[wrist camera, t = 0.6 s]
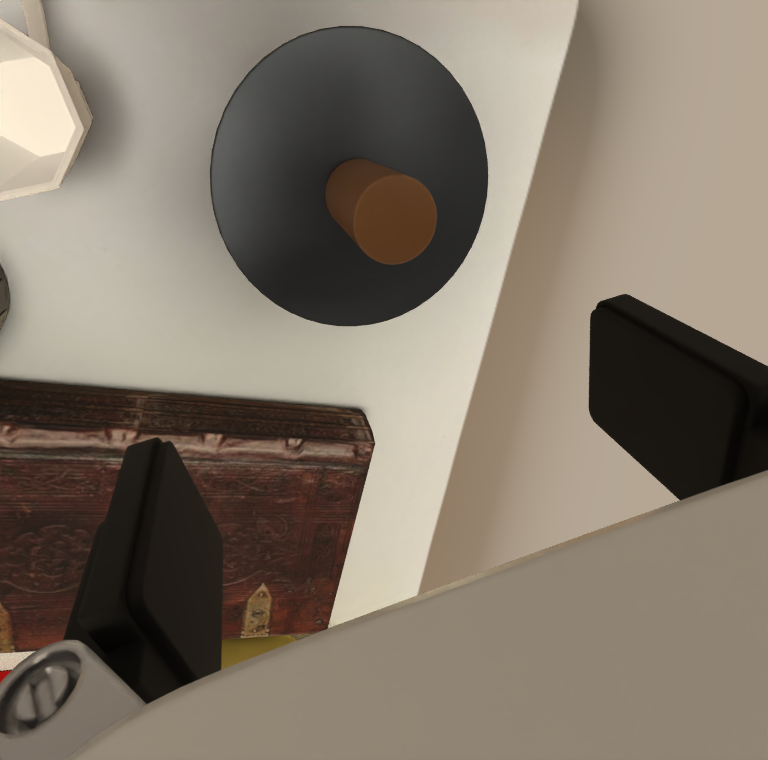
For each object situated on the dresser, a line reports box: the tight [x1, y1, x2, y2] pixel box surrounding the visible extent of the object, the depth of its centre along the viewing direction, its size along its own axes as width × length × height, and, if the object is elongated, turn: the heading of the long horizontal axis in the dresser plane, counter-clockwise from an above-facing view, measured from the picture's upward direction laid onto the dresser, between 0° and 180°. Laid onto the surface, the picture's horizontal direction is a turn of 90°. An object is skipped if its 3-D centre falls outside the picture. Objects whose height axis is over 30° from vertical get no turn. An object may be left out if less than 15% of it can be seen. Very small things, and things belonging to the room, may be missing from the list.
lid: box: [210, 26, 488, 326], centre depth 16 cm, size 10×10×6 cm
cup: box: [0, 0, 93, 201], centre depth 22 cm, size 7×10×8 cm
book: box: [0, 380, 375, 653], centre depth 36 cm, size 29×19×5 cm, turn 76°
